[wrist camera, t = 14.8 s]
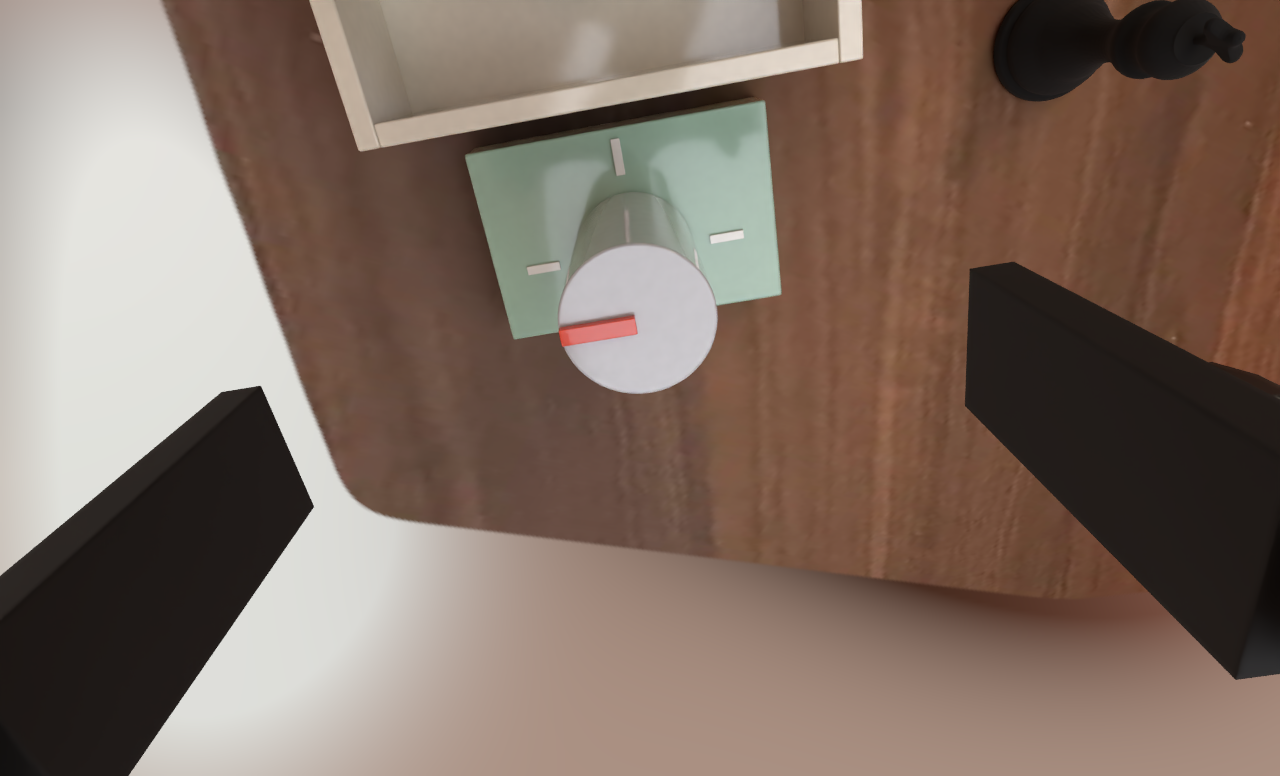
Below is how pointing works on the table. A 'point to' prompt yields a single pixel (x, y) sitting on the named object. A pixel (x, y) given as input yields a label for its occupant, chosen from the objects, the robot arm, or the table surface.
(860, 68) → the table surface
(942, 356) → the table surface
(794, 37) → the cream open storage tray
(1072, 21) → the chess piece
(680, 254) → the tap knob
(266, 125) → the table surface
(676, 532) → the table surface
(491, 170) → the green dial base plate
